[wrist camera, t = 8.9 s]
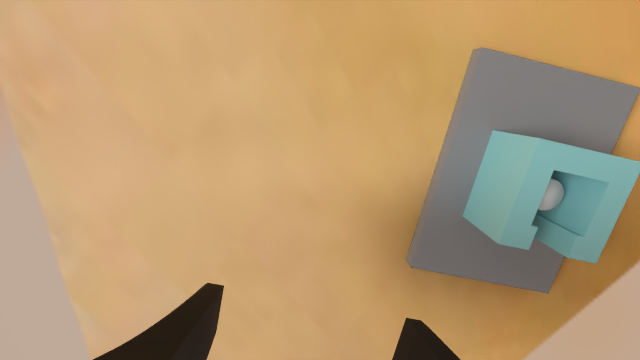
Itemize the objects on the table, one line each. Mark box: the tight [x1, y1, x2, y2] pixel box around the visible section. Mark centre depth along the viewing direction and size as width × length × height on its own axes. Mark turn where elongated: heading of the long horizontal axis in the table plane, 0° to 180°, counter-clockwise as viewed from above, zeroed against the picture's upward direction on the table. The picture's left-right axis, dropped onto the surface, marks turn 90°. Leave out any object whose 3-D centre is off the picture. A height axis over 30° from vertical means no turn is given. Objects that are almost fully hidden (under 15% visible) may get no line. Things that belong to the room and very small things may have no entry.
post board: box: [406, 48, 640, 293], centre depth 19 cm, size 14×10×4 cm
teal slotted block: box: [463, 130, 640, 264], centre depth 18 cm, size 6×6×4 cm
